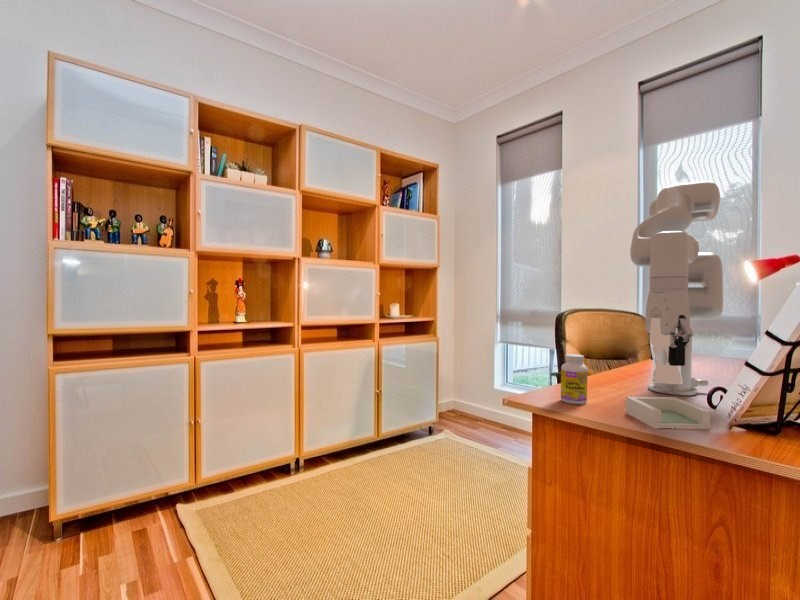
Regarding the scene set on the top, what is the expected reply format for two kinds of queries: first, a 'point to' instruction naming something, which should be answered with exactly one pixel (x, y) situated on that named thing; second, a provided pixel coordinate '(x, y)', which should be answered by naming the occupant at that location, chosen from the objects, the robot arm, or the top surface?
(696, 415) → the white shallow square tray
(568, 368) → the supplement bottle
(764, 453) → the top surface
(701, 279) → the robot arm
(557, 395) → the top surface
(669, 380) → the beer glass
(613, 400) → the top surface
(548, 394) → the top surface
